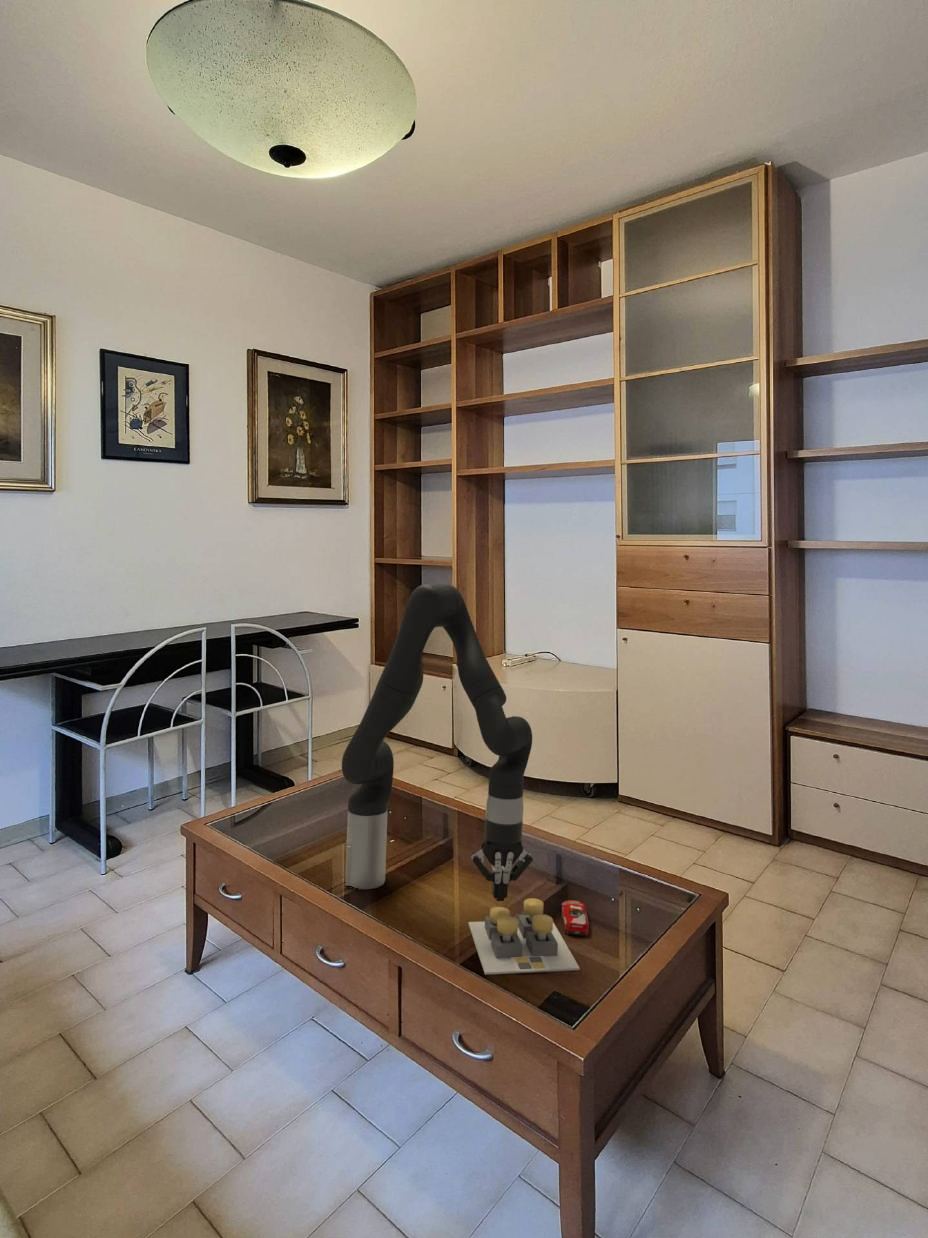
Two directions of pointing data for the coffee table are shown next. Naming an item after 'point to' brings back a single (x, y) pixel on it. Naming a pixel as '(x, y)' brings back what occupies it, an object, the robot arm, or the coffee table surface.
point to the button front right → (542, 925)
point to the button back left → (498, 913)
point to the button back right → (533, 908)
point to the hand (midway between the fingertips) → (499, 899)
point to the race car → (575, 918)
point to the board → (520, 949)
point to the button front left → (507, 927)
